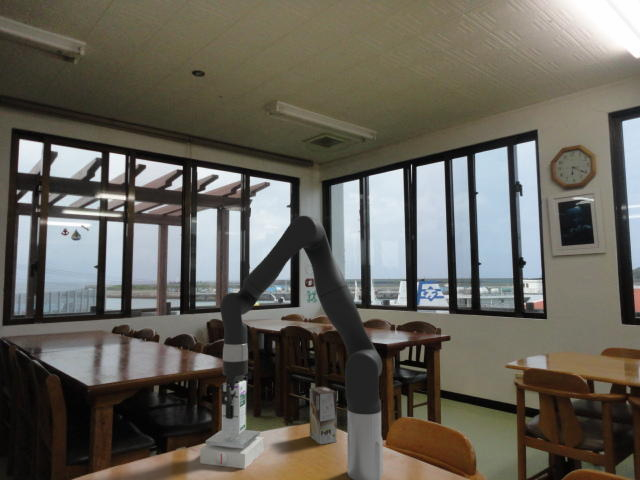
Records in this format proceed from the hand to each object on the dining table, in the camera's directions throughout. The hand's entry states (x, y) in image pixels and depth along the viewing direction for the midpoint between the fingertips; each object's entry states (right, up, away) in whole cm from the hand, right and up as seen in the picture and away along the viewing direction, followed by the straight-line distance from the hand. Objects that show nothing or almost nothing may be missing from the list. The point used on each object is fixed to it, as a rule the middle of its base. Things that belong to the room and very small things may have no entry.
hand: (234, 415), depth 135 cm
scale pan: (0, -7, -1) cm, 7 cm away
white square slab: (0, -12, -1) cm, 12 cm away
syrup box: (0, -5, 0) cm, 5 cm away
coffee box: (+27, -14, +14) cm, 33 cm away
